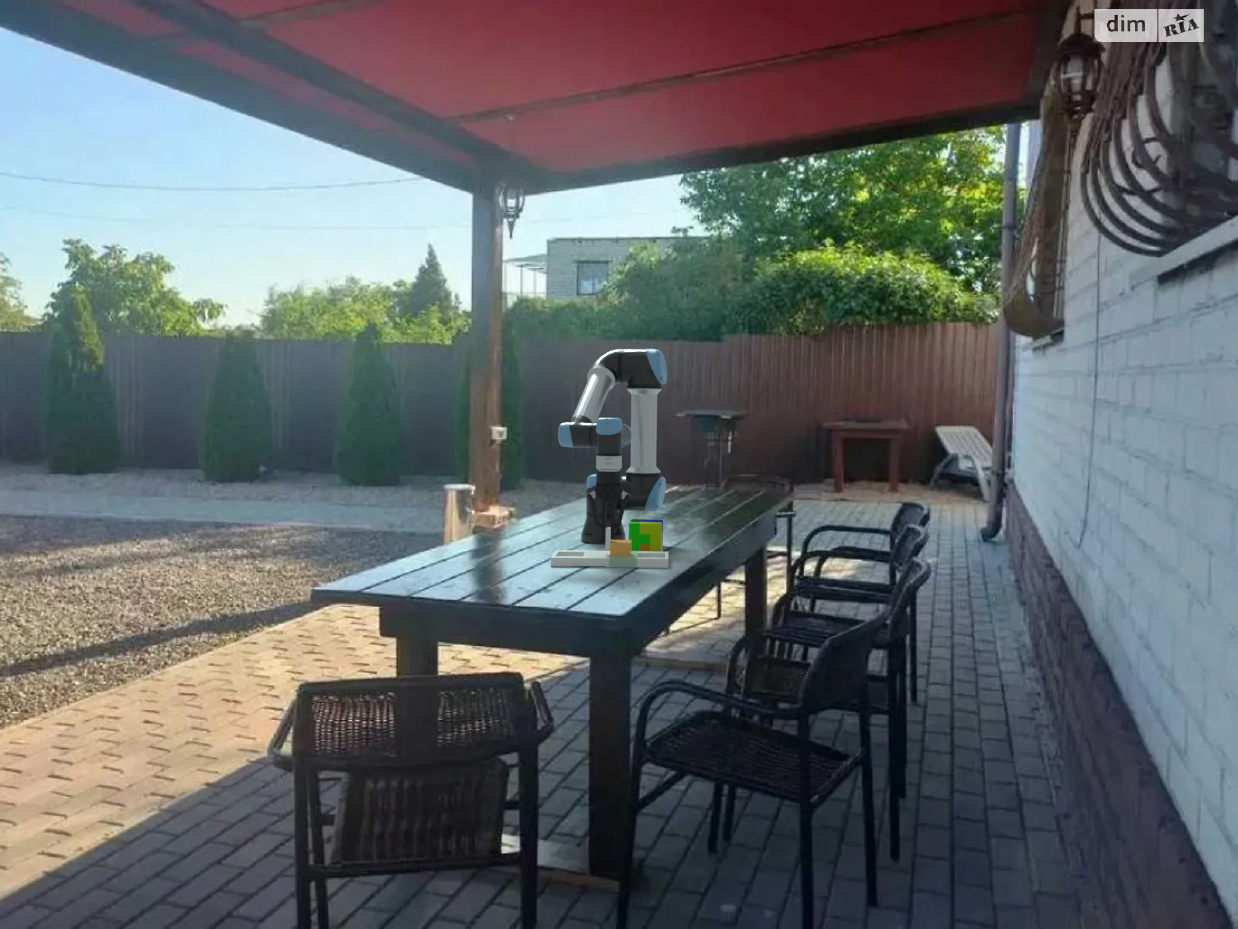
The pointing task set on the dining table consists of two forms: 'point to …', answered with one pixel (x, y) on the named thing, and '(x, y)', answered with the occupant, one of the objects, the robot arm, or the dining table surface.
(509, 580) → the dining table surface
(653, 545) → the puzzle toy
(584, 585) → the dining table surface
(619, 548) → the orange block
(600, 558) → the plate
